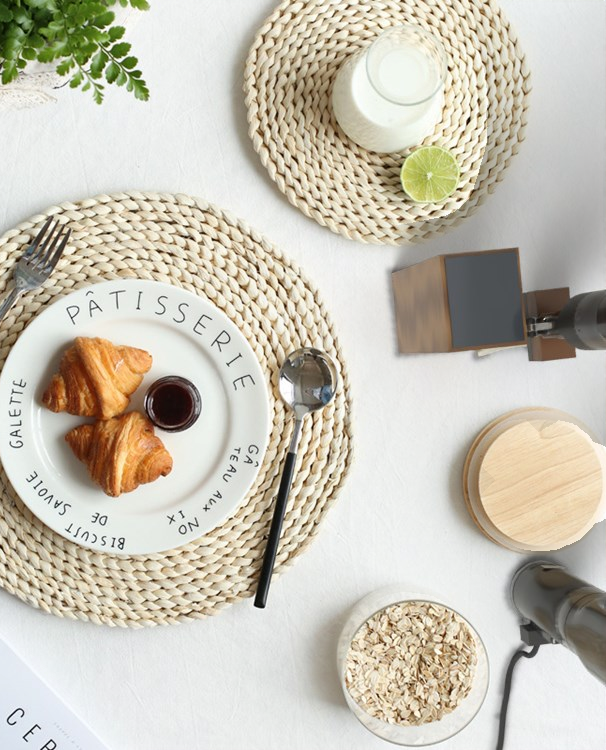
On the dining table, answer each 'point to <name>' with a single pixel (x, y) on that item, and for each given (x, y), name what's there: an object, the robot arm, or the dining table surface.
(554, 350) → the brown wooden block
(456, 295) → the pad
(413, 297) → the stand
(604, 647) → the robot arm
